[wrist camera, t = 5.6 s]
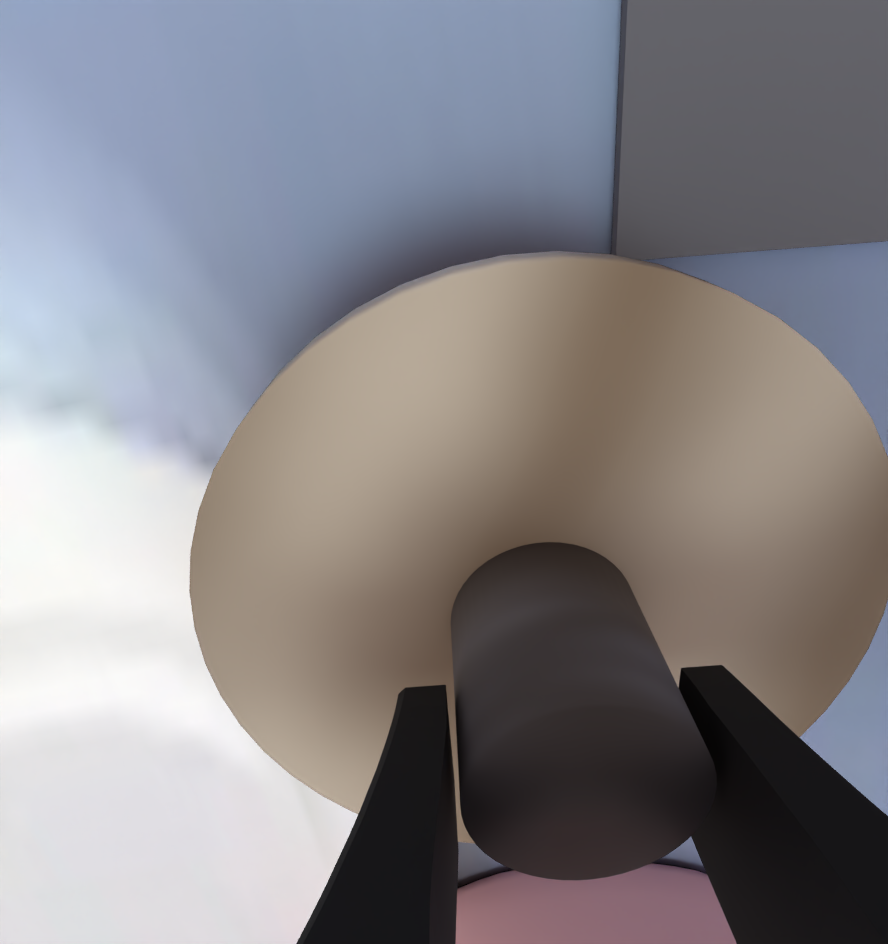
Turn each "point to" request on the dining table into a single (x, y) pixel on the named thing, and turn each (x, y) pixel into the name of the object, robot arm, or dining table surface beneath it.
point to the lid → (542, 545)
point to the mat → (750, 126)
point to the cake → (593, 909)
